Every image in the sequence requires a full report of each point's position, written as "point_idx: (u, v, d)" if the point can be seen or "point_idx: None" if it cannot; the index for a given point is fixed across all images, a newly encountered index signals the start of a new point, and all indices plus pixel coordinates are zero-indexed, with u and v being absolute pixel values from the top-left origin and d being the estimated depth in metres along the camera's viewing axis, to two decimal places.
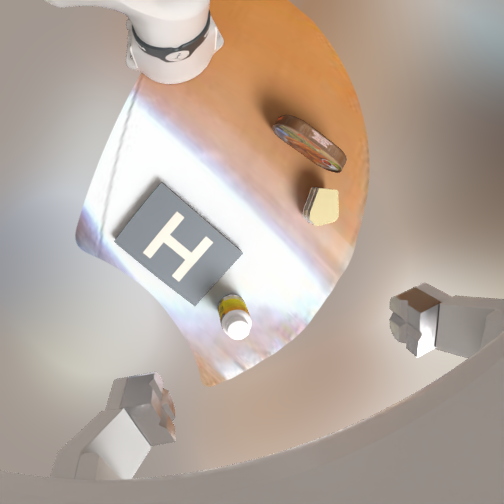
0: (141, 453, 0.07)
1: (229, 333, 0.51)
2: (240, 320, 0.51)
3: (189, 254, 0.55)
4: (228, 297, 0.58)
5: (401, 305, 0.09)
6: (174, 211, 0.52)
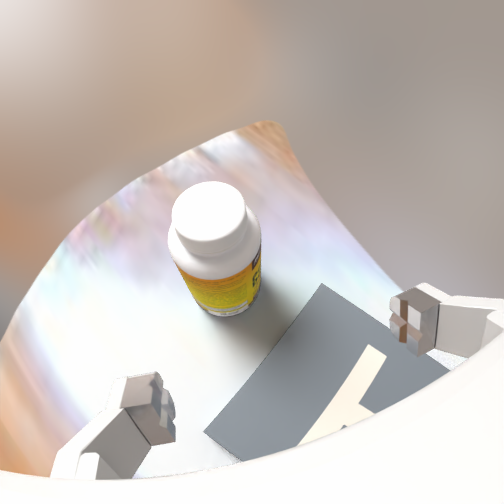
0: (141, 453, 0.07)
1: (238, 199, 0.16)
2: (201, 242, 0.15)
3: (348, 419, 0.18)
4: (235, 309, 0.22)
5: (401, 305, 0.09)
6: None
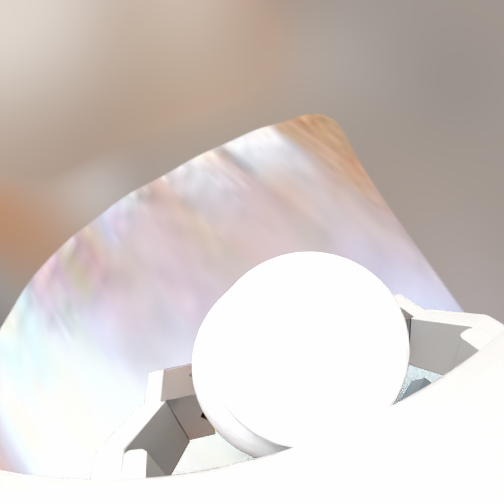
0: (180, 448, 0.07)
1: (391, 311, 0.05)
2: None
3: None
4: None
5: None
6: None
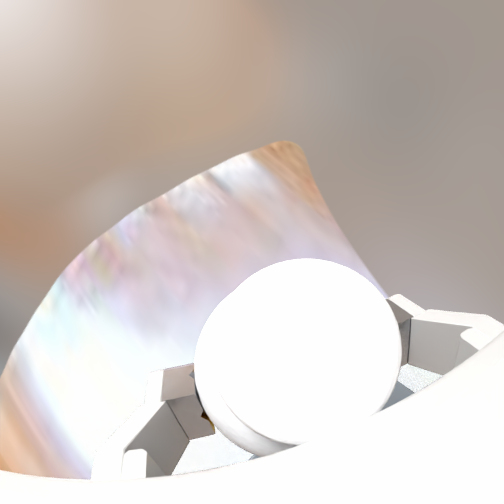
0: (180, 448, 0.07)
1: (384, 315, 0.06)
2: (301, 443, 0.05)
3: None
4: None
5: None
6: None
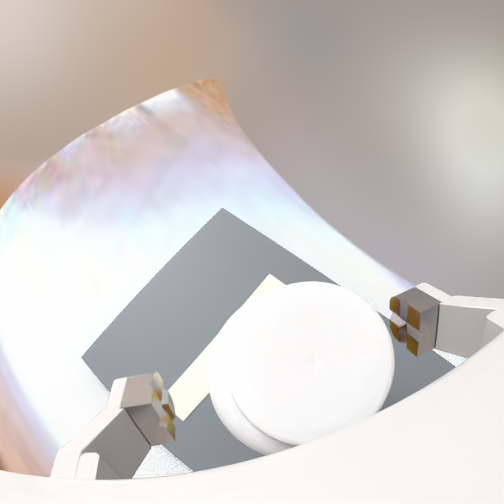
0: (141, 453, 0.07)
1: (380, 332, 0.06)
2: None
3: None
4: None
5: (401, 305, 0.09)
6: None
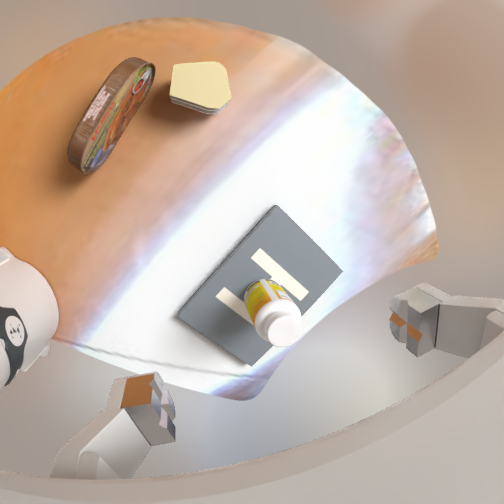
0: (141, 453, 0.07)
1: (287, 344, 0.32)
2: (267, 330, 0.31)
3: (274, 279, 0.41)
4: (246, 307, 0.39)
5: (401, 305, 0.09)
6: (215, 299, 0.40)
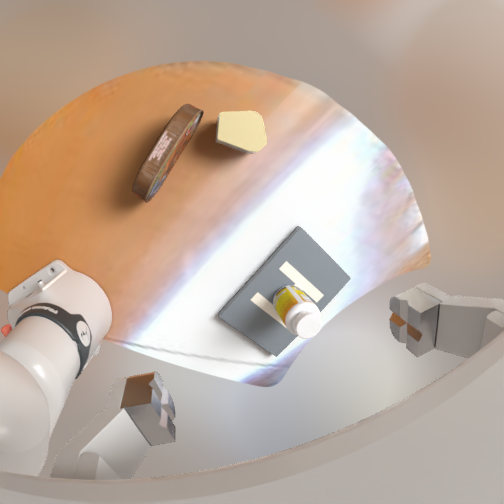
0: (141, 453, 0.07)
1: (311, 336, 0.42)
2: (296, 325, 0.41)
3: (297, 285, 0.51)
4: (275, 308, 0.49)
5: (401, 305, 0.09)
6: (250, 302, 0.50)
